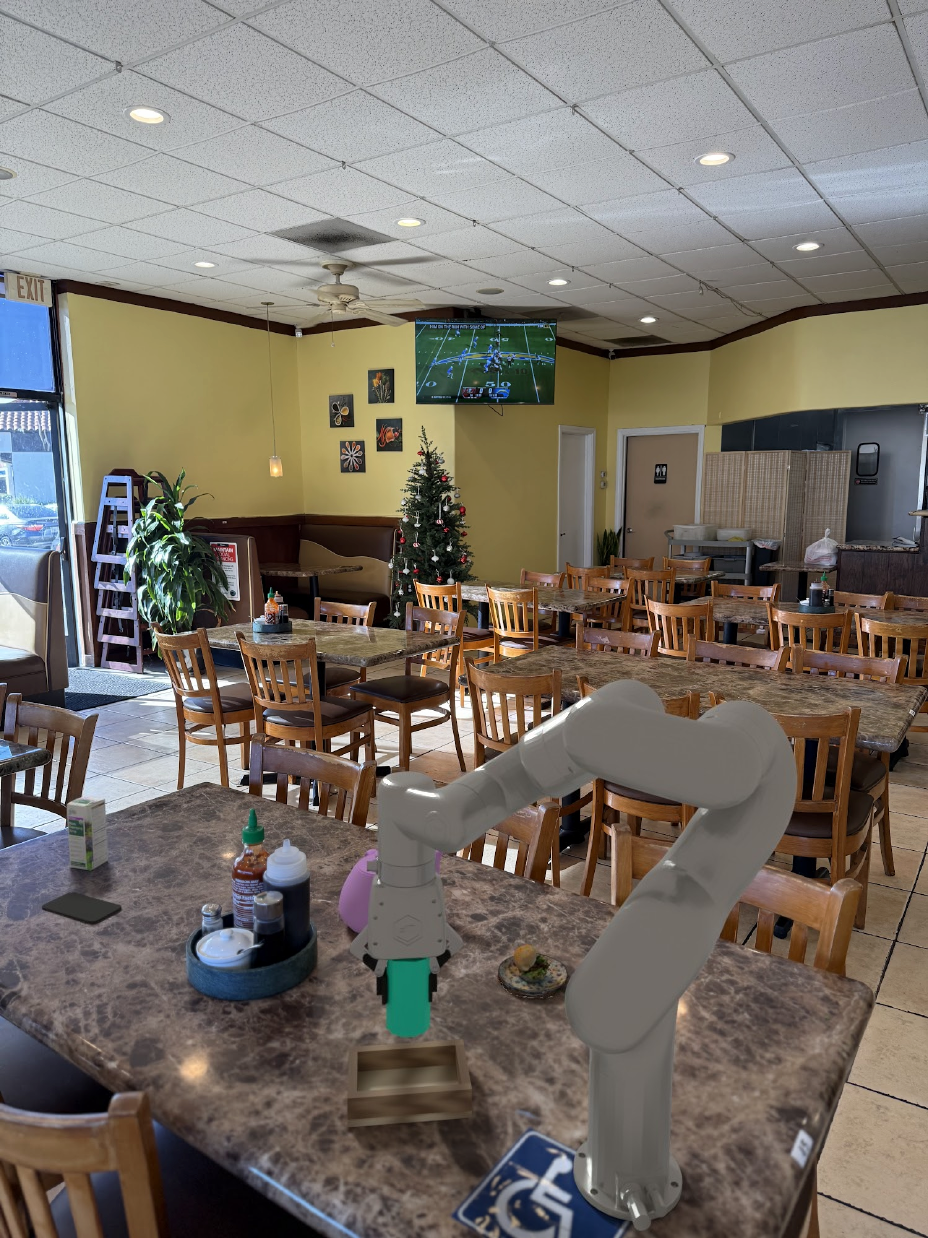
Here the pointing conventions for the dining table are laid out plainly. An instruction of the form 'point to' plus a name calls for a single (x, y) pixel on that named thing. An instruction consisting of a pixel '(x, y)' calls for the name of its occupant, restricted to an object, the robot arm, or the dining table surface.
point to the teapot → (362, 892)
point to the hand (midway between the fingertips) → (406, 996)
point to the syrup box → (87, 833)
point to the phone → (82, 907)
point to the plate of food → (531, 973)
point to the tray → (408, 1083)
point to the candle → (408, 996)
